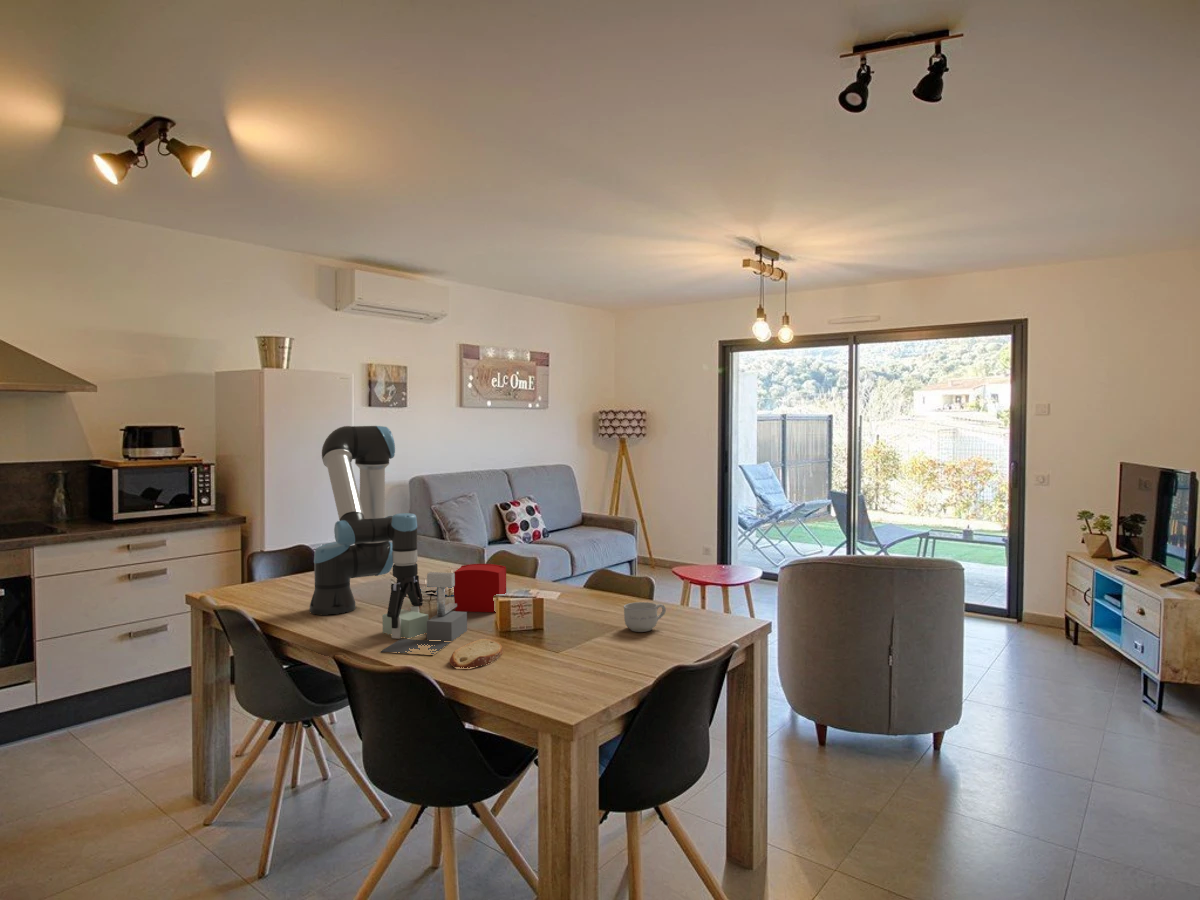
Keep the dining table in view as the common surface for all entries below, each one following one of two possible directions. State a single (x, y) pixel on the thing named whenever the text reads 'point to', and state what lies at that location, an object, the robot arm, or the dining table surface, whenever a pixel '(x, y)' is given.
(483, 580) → the maroon rounded cube
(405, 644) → the mat
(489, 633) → the dining table surface
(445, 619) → the block
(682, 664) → the dining table surface
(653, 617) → the teacup
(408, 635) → the pale green block
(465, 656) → the bread slice
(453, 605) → the t key
